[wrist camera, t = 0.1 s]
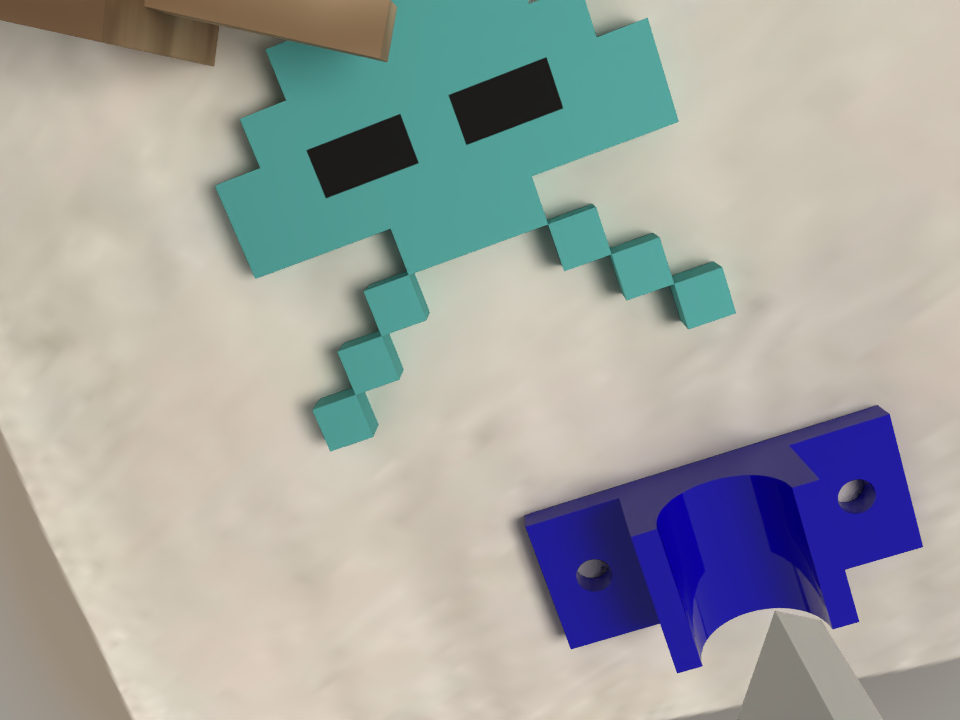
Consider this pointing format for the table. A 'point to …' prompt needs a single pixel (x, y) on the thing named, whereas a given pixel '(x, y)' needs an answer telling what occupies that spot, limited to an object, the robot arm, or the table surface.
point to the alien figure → (450, 160)
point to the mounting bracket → (730, 536)
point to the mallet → (213, 23)
